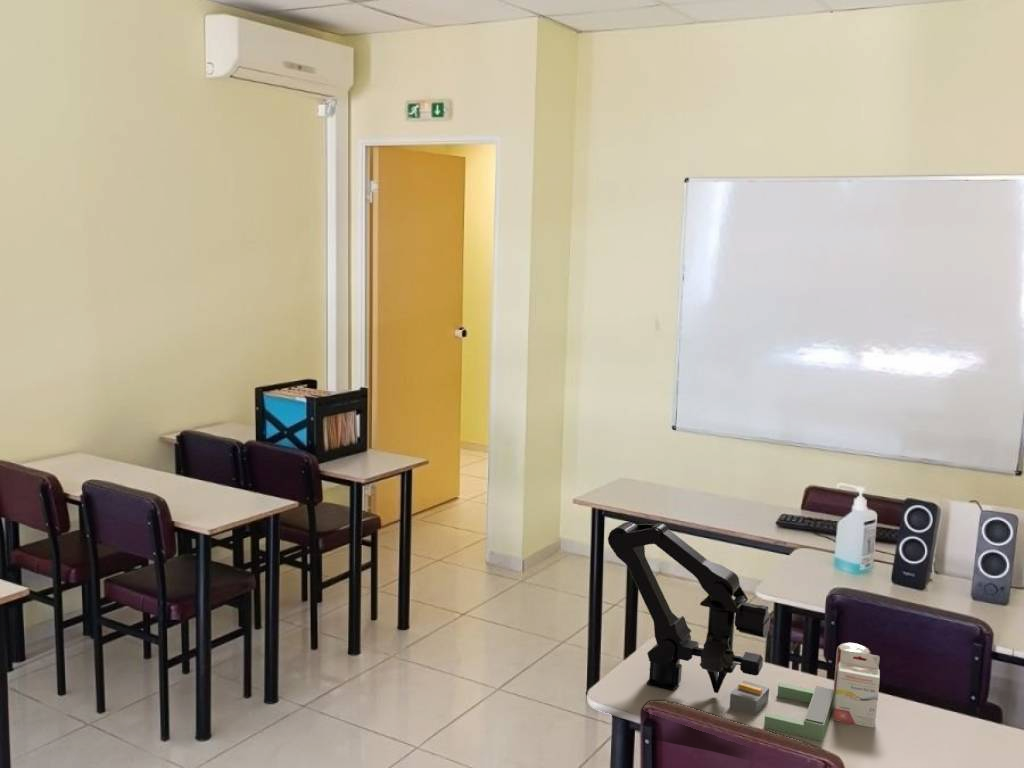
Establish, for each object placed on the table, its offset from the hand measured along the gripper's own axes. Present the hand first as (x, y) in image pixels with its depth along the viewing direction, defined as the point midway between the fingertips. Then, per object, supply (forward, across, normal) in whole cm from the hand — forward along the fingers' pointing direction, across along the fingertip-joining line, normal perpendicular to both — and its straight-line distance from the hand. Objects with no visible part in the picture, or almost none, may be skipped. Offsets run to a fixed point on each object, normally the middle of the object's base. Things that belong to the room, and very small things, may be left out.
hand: (716, 692), depth 219 cm
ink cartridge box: (+1, +29, +4) cm, 30 cm away
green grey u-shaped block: (+1, +19, 0) cm, 19 cm away
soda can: (+1, +27, +14) cm, 31 cm away
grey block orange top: (+1, +7, 0) cm, 8 cm away
